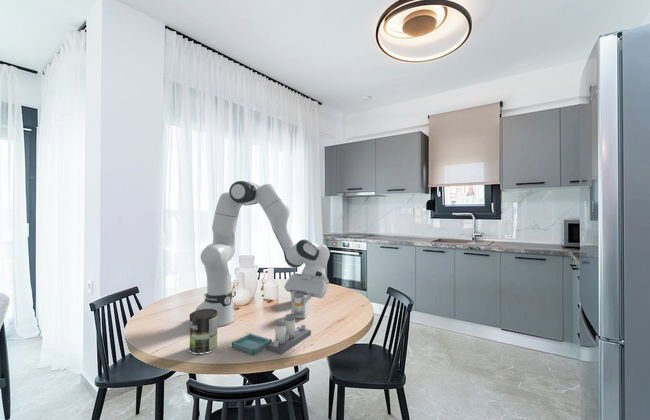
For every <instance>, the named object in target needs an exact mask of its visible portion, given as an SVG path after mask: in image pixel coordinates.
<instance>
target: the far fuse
mask: <svg viewBox="0 0 650 420" xmlns="http://www.w3.org/2000/svg"><path fill="white" fill-rule="evenodd" d="M274 320H275V321H274V325H275V332H274V333H275V336H274V337H275V339H274V340H276V341H278V346H281V345H284V344H285V334H286V318H276V319H274Z"/></svg>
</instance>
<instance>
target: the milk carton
mask: <svg viewBox="0 0 650 420" xmlns="http://www.w3.org/2000/svg"><path fill="white" fill-rule="evenodd" d="M290 295H291V299H292V297H293V296H292V292H290ZM305 297H307V295H304V297H303V299H304V298H305ZM291 299H290V301H291ZM290 308H291V309H290V312H291V313H290V314H294V302H292V301H291V307H290ZM308 315H309V300H308V301H307V302H306V304H305V305H304V304H303V315H295V319H306V318H307V316H308Z"/></svg>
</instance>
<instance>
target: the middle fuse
mask: <svg viewBox="0 0 650 420" xmlns="http://www.w3.org/2000/svg"><path fill="white" fill-rule="evenodd" d="M295 328H296V318H295V314H291V313H287V314H285V334H287V335H289V339H294V338H295Z"/></svg>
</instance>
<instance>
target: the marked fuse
mask: <svg viewBox="0 0 650 420" xmlns="http://www.w3.org/2000/svg"><path fill="white" fill-rule="evenodd" d="M294 297H295V300H294V314H295V315H303V304H302V303H301V301H302V299H303V297H304V293H303V292H295V293H294Z"/></svg>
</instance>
